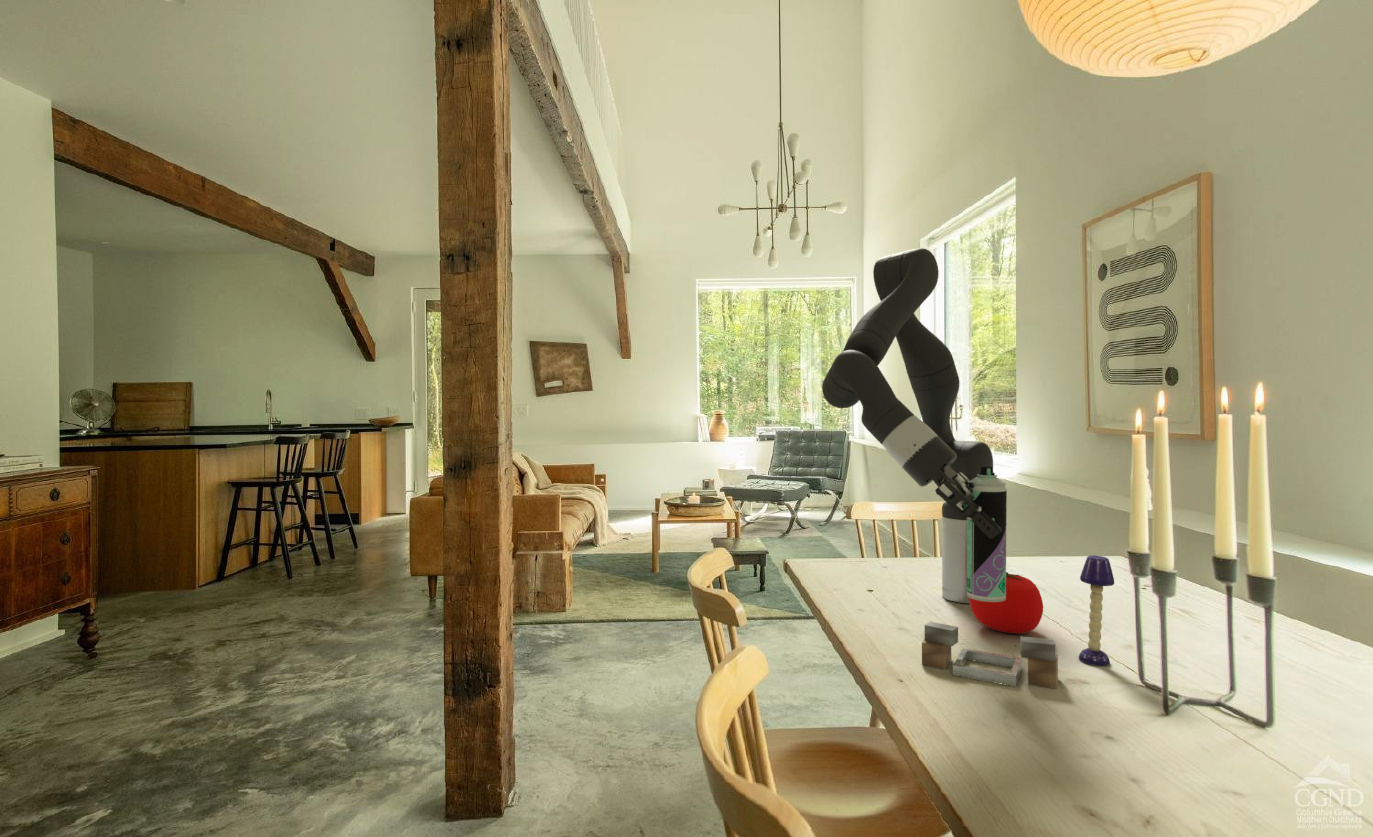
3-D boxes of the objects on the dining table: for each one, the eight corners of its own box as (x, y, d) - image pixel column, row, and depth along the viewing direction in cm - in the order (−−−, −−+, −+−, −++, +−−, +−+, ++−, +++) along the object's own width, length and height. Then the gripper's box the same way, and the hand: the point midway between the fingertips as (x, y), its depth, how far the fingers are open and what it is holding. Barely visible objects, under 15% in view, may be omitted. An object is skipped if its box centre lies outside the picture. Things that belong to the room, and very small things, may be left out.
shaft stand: (921, 664, 108) (921, 627, 108) (928, 656, 112) (927, 620, 112) (1055, 689, 98) (1055, 648, 98) (1057, 678, 102) (1057, 639, 102)
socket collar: (952, 675, 103) (952, 665, 103) (963, 657, 111) (963, 648, 111) (1015, 687, 99) (1015, 676, 99) (1022, 667, 106) (1022, 658, 106)
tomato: (1051, 629, 124) (1051, 572, 124) (1031, 646, 116) (1031, 584, 116) (984, 616, 133) (983, 562, 132) (960, 631, 124) (960, 573, 124)
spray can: (989, 604, 101) (990, 468, 101) (958, 595, 106) (959, 465, 106) (1013, 599, 104) (1014, 467, 103) (983, 590, 109) (984, 464, 108)
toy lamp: (1110, 658, 110) (1110, 554, 110) (1117, 669, 105) (1117, 560, 105) (1076, 655, 111) (1076, 552, 111) (1082, 665, 107) (1082, 558, 107)
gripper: (925, 435, 102) (1013, 522, 96) (944, 432, 115) (1024, 509, 108) (889, 469, 105) (973, 556, 99) (912, 463, 117) (987, 539, 111)
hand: (999, 531), depth 104 cm, fingers closed on spray can, 5 cm apart
